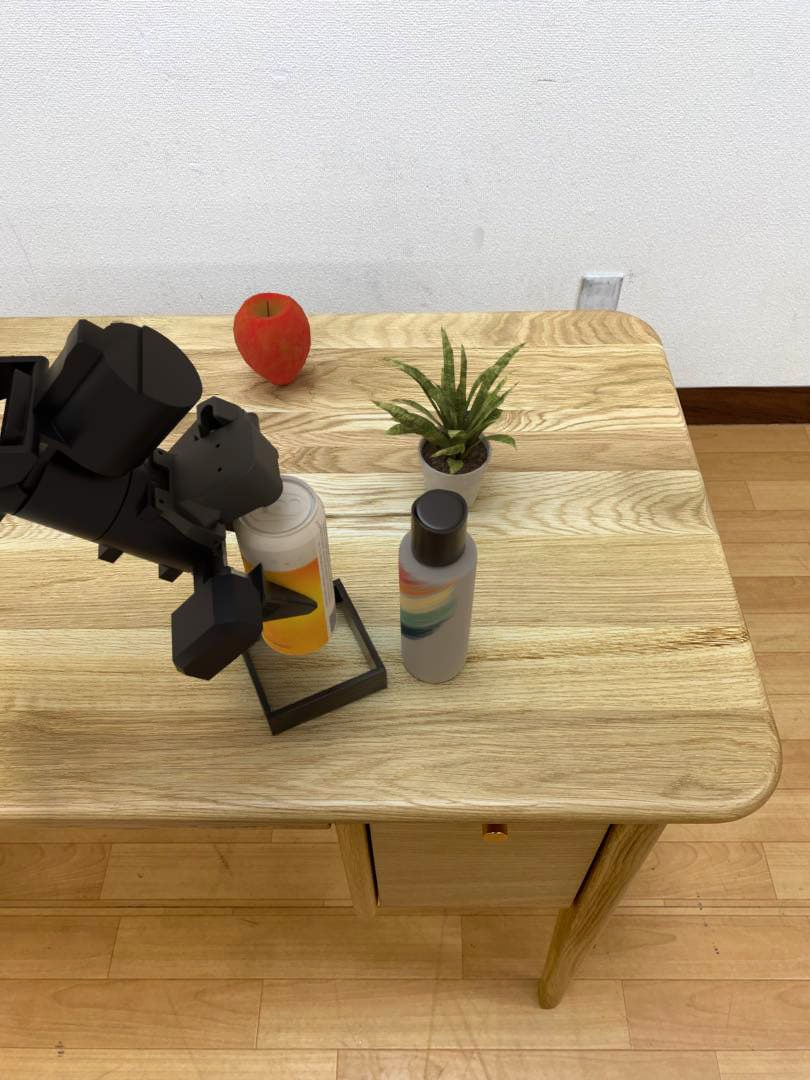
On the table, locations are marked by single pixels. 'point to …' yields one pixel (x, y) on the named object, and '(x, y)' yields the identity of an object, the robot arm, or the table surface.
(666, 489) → the table surface
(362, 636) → the black square frame
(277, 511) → the beer can
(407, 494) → the table surface
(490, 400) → the house plant
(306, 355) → the apple
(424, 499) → the lotion bottle
